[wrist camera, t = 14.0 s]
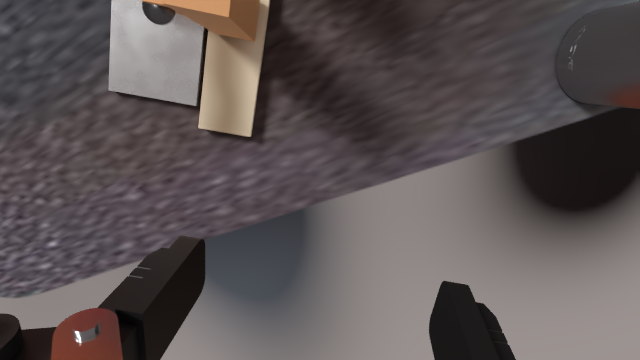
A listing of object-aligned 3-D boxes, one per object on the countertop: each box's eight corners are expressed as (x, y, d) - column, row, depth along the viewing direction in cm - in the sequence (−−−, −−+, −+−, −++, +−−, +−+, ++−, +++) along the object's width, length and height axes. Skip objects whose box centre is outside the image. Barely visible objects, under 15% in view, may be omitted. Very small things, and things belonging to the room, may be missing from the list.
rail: (286, -117, 31) (286, -125, 30) (251, 135, 37) (250, 136, 35) (227, -132, 30) (225, -141, 29) (201, 126, 36) (198, 127, 35)
